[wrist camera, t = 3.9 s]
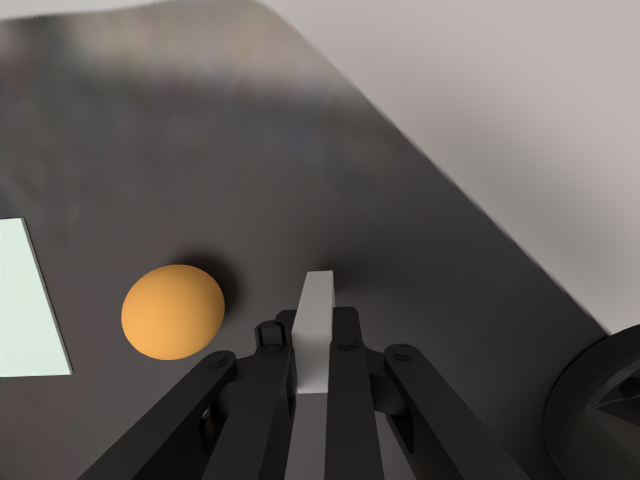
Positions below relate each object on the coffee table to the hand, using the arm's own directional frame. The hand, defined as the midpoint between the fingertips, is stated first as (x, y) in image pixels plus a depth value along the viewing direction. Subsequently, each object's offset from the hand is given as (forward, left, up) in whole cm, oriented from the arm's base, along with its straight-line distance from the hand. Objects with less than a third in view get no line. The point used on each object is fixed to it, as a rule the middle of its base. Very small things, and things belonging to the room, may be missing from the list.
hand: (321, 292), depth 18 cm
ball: (+9, 0, +1) cm, 9 cm away
